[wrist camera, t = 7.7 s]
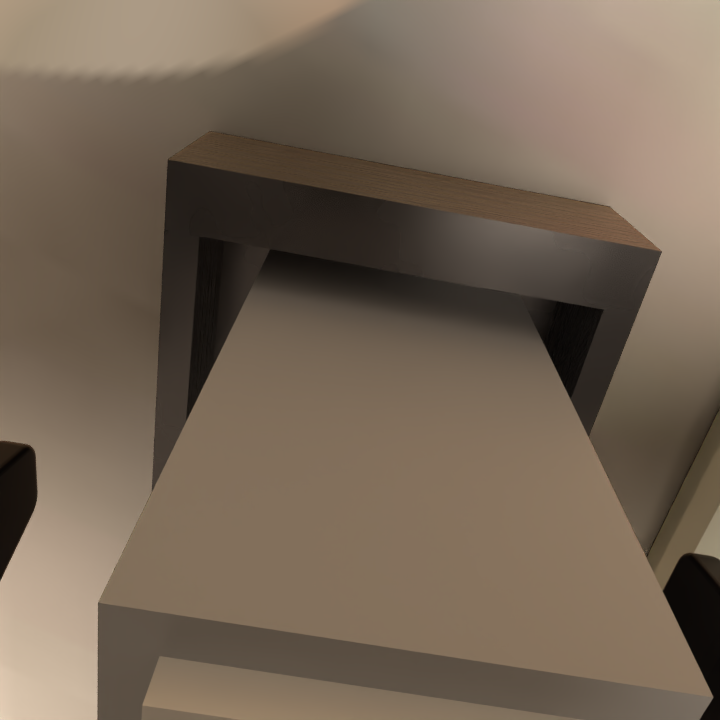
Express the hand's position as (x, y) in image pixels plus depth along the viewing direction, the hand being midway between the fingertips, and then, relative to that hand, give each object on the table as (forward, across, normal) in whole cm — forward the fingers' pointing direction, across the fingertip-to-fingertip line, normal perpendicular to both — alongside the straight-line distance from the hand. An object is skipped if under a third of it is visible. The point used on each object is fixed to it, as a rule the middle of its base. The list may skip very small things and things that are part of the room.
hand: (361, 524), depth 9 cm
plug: (+4, 0, 0) cm, 4 cm away
